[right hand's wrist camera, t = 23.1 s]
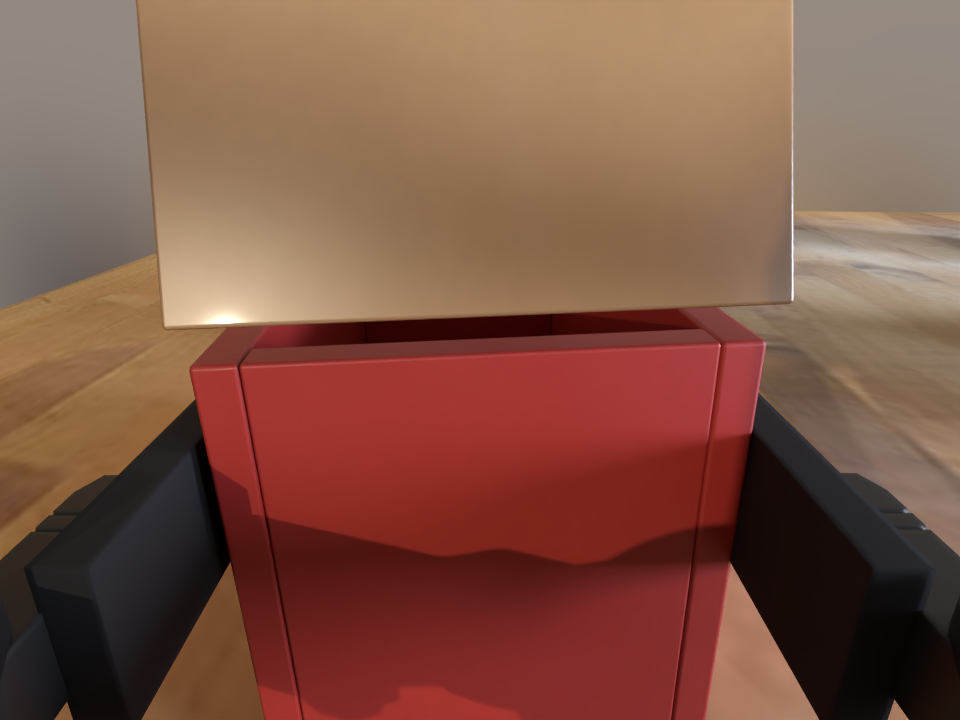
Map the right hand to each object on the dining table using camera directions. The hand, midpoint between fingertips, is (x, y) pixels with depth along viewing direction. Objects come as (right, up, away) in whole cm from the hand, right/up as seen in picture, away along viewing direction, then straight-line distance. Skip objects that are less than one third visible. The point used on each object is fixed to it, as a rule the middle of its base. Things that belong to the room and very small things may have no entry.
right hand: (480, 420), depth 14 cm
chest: (0, -4, +6) cm, 8 cm away
